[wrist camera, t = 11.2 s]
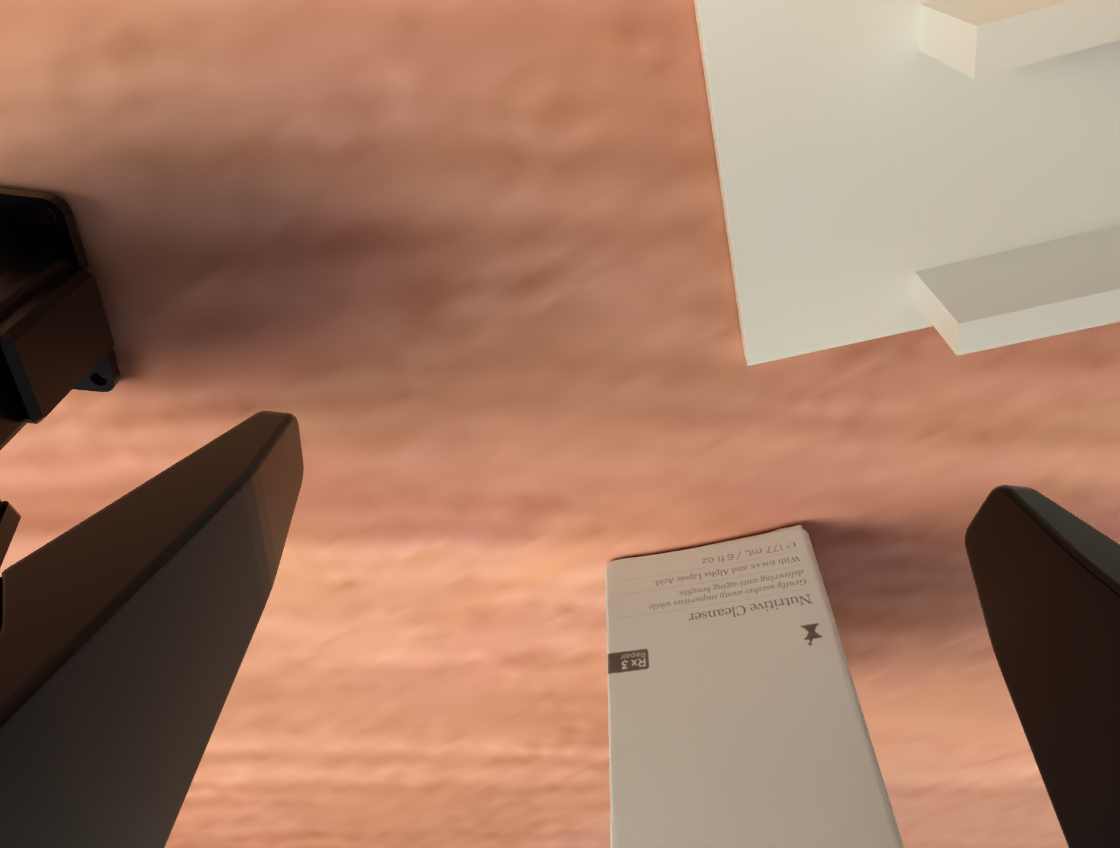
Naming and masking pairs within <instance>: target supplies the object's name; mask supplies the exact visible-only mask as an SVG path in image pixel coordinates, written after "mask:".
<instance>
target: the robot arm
mask: <svg viewBox="0 0 1120 848" xmlns="http://www.w3.org/2000/svg"><path fill="white" fill-rule="evenodd" d="M45 207H46V208H49V209H50V210H51V211H52V212H53V213H54V215H55V216H56V219H55V218H52V217H51V216H49V215H48V214H47V212H46V211H45ZM113 345H114V342H113V338H112V335H111V332H110V328H109V325H108V321H107V318H106V315H105V311H104V308H103V304H102V301H101V298H100V294H99V291H98V287H97V284H96V281H95V277H94V275H93V274H92V273H91V271H90V270H89V266H88V263H87V260H86V256H85V253H84V250H83V246H82V243H81V239H80V236H79V233H78V229H77V226H76V223H75V219H74V216H73V212H72V210H71V208H70V206H69V205H68V204H67V203H66V202H65V201H64V200H63V199H62V198H60V197H59V196H57V195H54V194H51V193H45V192H36V191H28V190H19V189H10V188H1V187H0V450H1V449H2V448H3V447H4V446H5V445H6V444H7V443H8V442H9V441H10V440H11V439H12V438H13V437H14V436H15V435H16V434H17V433H18V432H19V431H20V430H21V429H22V427H23V426H24V425H25V424H26V423H33V424H38V423H39V422H41V421H42V420H43V419H44V418H45V417H46V416H47V415H48V414H49V413H50V412H51V411H52V410H53V409H54V408H55V407H56V405H57V404H58V403H59V402H60V401H61V400H62V399H63V398H64V397H65V396H66V395H67V394H68V393H69V392H70V391H71V390H72V389H78V390H88V391H98V392H108V391H110V390H112V389H113V388H114V387H115V386H116V385H117V384H118V382H119V381H120V379H121V376H120V371H119V368H118V364H117V361H116V357H115V354H114V351H113ZM98 373H99V374H102V375H103V376H104V377H105V378H106V379H105V378H102V377H101V376H99V375H98ZM303 469H304V466H303V457H302V449H301V441H300V433H299V425H298V421H297V419H296V417H295V416H294V415H292V414H290V413H281V412H271V411H261V412H258V413H256V414H255V415H253V416H251V417H250V418H248V419H247V420H245V421H243V422H242V423H240V424H239V425H237V426H235V427H234V428H232V429H231V430H229V431H227V432H226V433H224V434H222V435H221V436H219V437H218V438H216V439H214V440H213V441H211V442H210V443H208V444H206V445H205V446H203V447H202V448H200V449H198V450H197V451H195V452H194V453H192V454H190V455H189V456H187V457H186V458H184V459H182V460H181V461H179V462H177V463H176V464H174V465H173V466H171V467H169V468H168V469H166V470H165V471H163V472H161V473H160V474H158V475H157V476H155V477H153V478H152V479H150V480H149V481H147V482H145V483H144V484H142V485H141V486H139V487H137V488H136V489H134V490H132V491H131V492H129V493H128V494H126V495H124V496H123V497H121V498H120V499H118V500H116V501H115V502H113V503H112V504H110V505H108V506H107V507H105V508H104V509H102V510H100V511H99V512H97V513H96V514H94V515H92V516H91V517H89V518H88V519H86V520H84V521H83V522H81V523H79V524H78V525H76V526H75V527H73V528H71V529H70V530H68V531H67V532H65V533H63V534H62V535H60V536H59V537H57V538H55V539H54V540H52V541H51V542H49V543H47V544H46V545H44V546H43V547H41V548H39V549H38V550H36V551H34V552H33V553H31V554H30V555H28V556H26V557H25V558H23V559H22V560H20V561H18V562H17V563H15V564H14V565H12V566H10V567H9V568H7V569H6V570H4V571H3V572H2V578H1V577H0V848H164V847H165V845H166V842H167V840H168V838H169V835H170V833H171V830H172V828H173V826H174V823H175V821H176V818H177V816H178V814H179V811H180V809H181V806H182V804H183V802H184V799H185V797H186V794H187V792H188V790H189V787H190V785H191V782H192V780H193V778H194V775H195V773H196V770H197V768H198V766H199V763H200V761H201V758H202V756H203V754H204V751H205V749H206V747H207V744H208V742H209V739H210V737H211V735H212V732H213V730H214V727H215V725H216V723H217V720H218V718H219V715H220V713H221V711H222V708H223V706H224V703H225V701H226V699H227V696H228V694H229V691H230V689H231V687H232V684H233V682H234V679H235V677H236V675H237V672H238V670H239V667H240V665H241V663H242V660H243V658H244V656H245V653H246V651H247V648H248V646H249V644H250V641H251V639H252V636H253V634H254V632H255V629H256V627H257V624H258V622H259V620H260V617H261V615H262V612H263V610H264V608H265V605H266V603H267V600H268V597H269V595H270V592H271V590H272V587H273V584H274V580H275V577H276V574H277V570H278V567H279V563H280V560H281V556H282V552H283V549H284V545H285V542H286V538H287V534H288V531H289V527H290V524H291V520H292V516H293V513H294V509H295V506H296V502H297V498H298V495H299V491H300V488H301V484H302V479H303ZM20 518H21V516H20V515H19V513H18V512H17V511H16V510H15V509H14V508H13V507H12V506H11V505H10V504H9V502H7V501H1V500H0V567H1V565H2V562H3V560H4V557H5V555H6V552H7V550H8V548H9V545H10V543H11V540H12V538H13V535H14V533H15V531H16V528H17V526H18V523H19V521H20ZM965 546H966V551H967V554H968V558H969V562H970V566H971V570H972V573H973V577H974V581H975V585H976V588H977V592H978V596H979V600H980V603H981V607H982V611H983V615H984V618H985V622H986V626H987V630H988V633H989V637H990V640H991V643H992V647H993V650H994V653H995V656H996V659H997V661H998V664H999V667H1000V670H1001V672H1002V675H1003V677H1004V680H1005V683H1006V685H1007V688H1008V690H1009V693H1010V696H1011V698H1012V701H1013V703H1014V706H1015V709H1016V711H1017V714H1018V716H1019V719H1020V722H1021V724H1022V727H1023V729H1024V732H1025V735H1026V737H1027V740H1028V743H1029V745H1030V748H1031V750H1032V753H1033V756H1034V758H1035V761H1036V763H1037V766H1038V769H1039V771H1040V774H1041V776H1042V779H1043V782H1044V784H1045V787H1046V789H1047V792H1048V795H1049V797H1050V800H1051V802H1052V805H1053V808H1054V810H1055V813H1056V815H1057V818H1058V821H1059V823H1060V826H1061V828H1062V831H1063V834H1064V836H1065V839H1066V841H1067V844H1068V847H1069V848H1120V545H1119V544H1118V543H1116V542H1115V541H1113V540H1112V539H1110V538H1109V537H1107V536H1105V535H1104V534H1102V533H1101V532H1099V531H1098V530H1096V529H1095V528H1093V527H1092V526H1090V525H1089V524H1087V523H1085V522H1084V521H1082V520H1081V519H1079V518H1078V517H1076V516H1075V515H1073V514H1072V513H1070V512H1068V511H1067V510H1065V509H1064V508H1062V507H1061V506H1059V505H1058V504H1056V503H1055V502H1053V501H1052V500H1050V499H1048V498H1047V497H1045V496H1044V495H1042V494H1041V493H1039V492H1038V491H1036V490H1034V489H1031V488H1028V487H1019V486H1009V485H1002V486H998V487H996V488H995V489H993V490H992V491H991V492H990V494H989V495H988V497H987V498H986V500H985V501H984V503H983V504H982V506H981V508H980V509H979V511H978V512H977V514H976V515H975V517H974V518H973V520H972V522H971V523H970V525H969V526H968V528H967V531H966V535H965Z"/></svg>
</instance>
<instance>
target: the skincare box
mask: <svg viewBox="0 0 1120 848" xmlns="http://www.w3.org/2000/svg"><path fill="white" fill-rule="evenodd" d="M605 578H606V616H607V673H608V717H609V760H610V808H611V821H610V848H904V846H903V842H902V839H901V836H900V832H899V829H898V826H897V822H896V819H895V816H894V813H893V810H892V806H891V803H890V800H889V797H888V793H887V790H886V787H885V784H884V781H883V777H882V774H881V771H880V768H879V764H878V761H877V758H876V755H875V751H874V748H873V745H872V741H871V738H870V735H869V732H868V728H867V725H866V722H865V719H864V715H863V712H862V709H861V705H860V702H859V699H858V696H857V692H856V689H855V686H854V683H853V679H852V676H851V673H850V669H849V666H848V663H847V659H846V656H845V653H844V649H843V646H842V642H841V639H840V636H839V632H838V629H837V626H836V622H835V619H834V616H833V612H832V609H831V606H830V602H829V599H828V596H827V592H826V589H825V586H824V582H823V579H822V576H821V573H820V570H819V566H818V563H817V560H816V557H815V554H814V550H813V547H812V544H811V541H810V537H809V534H808V533H807V531H806V530H804V529H803V527H802V526H801V525H797V526H793V527H787V528H781V529H777V530H775V531H773V532H769V533H764V534H759V535H755V536H750V537H745V538H740V539H735V540H730V541H725V542H720V543H716V544H711V545H706V546H701V547H696V548H691V549H686V550H680V551H674V552H667V553H661V554H655V555H648V556H641V557H632V558H625V559H619V560H614V561H611V562H609V563H608V564H606V568H605Z"/></svg>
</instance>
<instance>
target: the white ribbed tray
mask: <svg viewBox="0 0 1120 848" xmlns="http://www.w3.org/2000/svg"><path fill="white" fill-rule="evenodd" d="M694 6H695V13H696V21H697V28H698V35H699V42H700V49H701V56H702V63H703V70H704V77H705V84H706V91H707V98H708V105H709V112H710V119H711V126H712V133H713V140H714V147H715V154H716V161H717V168H718V175H719V182H720V189H721V196H722V203H723V210H724V217H725V224H726V231H727V238H728V245H729V252H730V259H731V266H732V273H733V280H734V287H735V294H736V301H737V308H738V315H739V322H740V329H741V336H742V343H743V350H744V356H745V359H746V362H747V365H748V366H751V365H756V364H760V363H765V362H770V361H774V360H779V359H783V358H788V357H793V356H797V355H802V354H807V353H811V352H816V351H820V350H825V349H830V348H834V347H839V346H844V345H848V344H853V343H857V342H862V341H867V340H871V339H876V338H881V337H885V336H890V335H894V334H899V333H904V332H908V331H913V330H918V329H922V328H927V327H931V326H934V328H935V329H936V330H937V331H938V333H939V334H940V335H941V336H942V338H943V339H944V340H945V341H946V343H947V344H948V345H949V347H950V348H951V349H952V350H953V352H954V353H955V354H956V355H957V356H958V355H963V354H968V353H973V352H977V351H982V350H987V349H992V348H996V347H1001V346H1006V345H1011V344H1016V343H1020V342H1025V341H1030V340H1035V339H1040V338H1044V337H1049V336H1054V335H1059V334H1064V333H1068V332H1073V331H1078V330H1083V329H1088V328H1092V327H1097V326H1102V325H1107V324H1111V323H1116V322H1120V0H694Z"/></svg>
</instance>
